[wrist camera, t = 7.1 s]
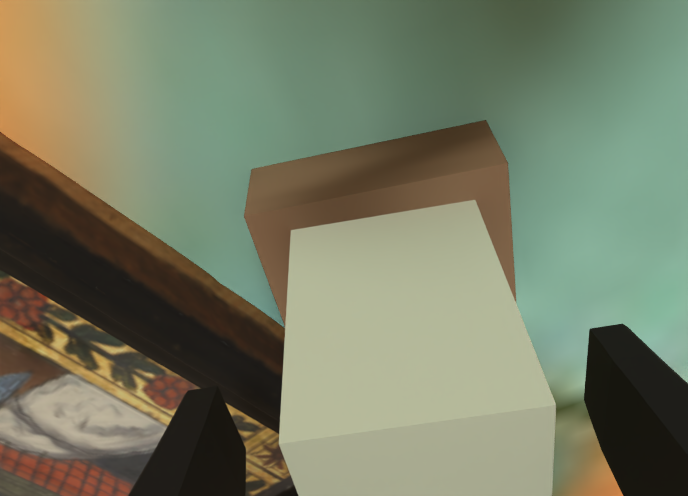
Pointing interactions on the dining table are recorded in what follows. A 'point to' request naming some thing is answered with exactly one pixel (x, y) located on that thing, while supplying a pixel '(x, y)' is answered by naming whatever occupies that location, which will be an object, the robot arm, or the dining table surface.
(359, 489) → the sage block
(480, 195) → the walnut base
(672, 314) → the dining table surface
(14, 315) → the framed icon painting
